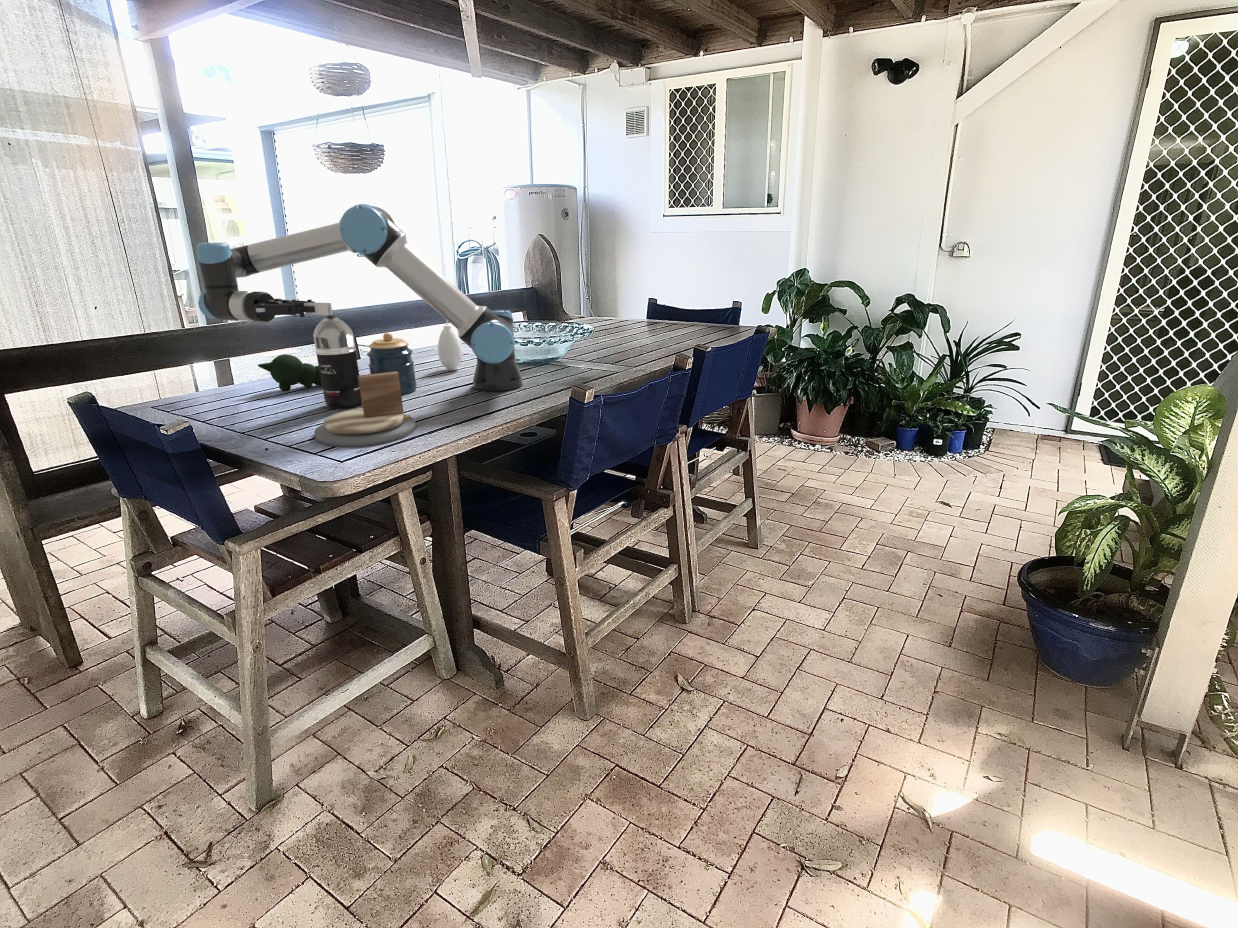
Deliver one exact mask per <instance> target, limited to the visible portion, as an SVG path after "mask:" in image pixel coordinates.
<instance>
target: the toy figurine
mask: <svg viewBox="0 0 1238 928" xmlns="http://www.w3.org/2000/svg"><path fill="white" fill-rule="evenodd" d="M257 367H259V369H260V368H261V369H263V370H265V371H267V372H268V373H269V374H270V376H271V378H272V379H273V381H275V382H276V383H278V387H279V389H280V391H282V392H285V393H286V392H289V391H291V388H292V386H294V385H295V386H296V384H300V385H302V386H303V387H304V388H305V389H312V388H313V386H314V385H316V386H320V387H321V388H322V382H321V377H320V371H319V365H313V364H311V363H308V362H305V363H304V362H303V361H301V359H299V358H298V357H296V355H292V354H288V353H287V354H280V355H278V356H276V357H274V358H273V360H271V361H270V362H264V363H259V364H257Z"/></svg>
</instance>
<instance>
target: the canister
mask: <svg viewBox="0 0 1238 928" xmlns="http://www.w3.org/2000/svg"><path fill="white" fill-rule="evenodd" d="M409 344H410V343H409V342H408V341H405V340H404V339H403V338H399V337H398V338H396V337H395V338H394V337H393V334H392V333H390V332H384V333H383V336H382V338H381V339H376V340H373V341H372V343H370V344H368V347H369V348H370V350H369V351H368V352H367V353H366V356H367V357H368V359H369V364H368V367H369V374H376V373H385V372H395V371H397V372H398V373H399V381H400V389H401V395H406V394H410V393H412V392H415V391H416V390H417V380H416V375H415V366H414V364H415V362H414V360H413V359H412V354H413V350H412V349H411V348H409V347H408V346H409Z"/></svg>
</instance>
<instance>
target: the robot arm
mask: <svg viewBox="0 0 1238 928" xmlns="http://www.w3.org/2000/svg"><path fill="white" fill-rule="evenodd" d="M195 247H196V248H195V249H196V255H197V257H196V259H197V261H198V264H199V269H200V272H201V278H202V281H203V286H204V291H203V292H201V294H200V295H199V296H198V297H199V298H198V302H197V304H198V308H199V311H200V312H201V314H202V315H204V316H205V317H207V318H208V319H211V320H219V321H240V322H243V321H246V323H247V324H251V323H252V322H262V323H267V322H271V321H272V320H274V318H275V317H276V316H297V315H299V318H305V317H306V316H305V315H308V316H309V315H316V316H327V315H334V314H333V307H332V303H331V302H316V301H313V300H312V299H307V300H298V299H282V298H274V297H273V296H272V295H271V293H268V292H266V291H253V290H239V285H238V280H237V278H247V277H249V276H252V275H256V274H258V273H263V272H267V271H271V270H275V269H279V268H280V269H281V268H284V267H289V266H292V265H296V264H300V263H304V262H308V261H312V260H313V261H314V260H317V259H320V258H325V257H329V256H334V255H338V254H341V253H346V252H349V251H350V252H351V253H353V254H361V255H363V257H364V258H366V259H367V260H368V261H369V262H370V263H371V264H373V265H374V266H375V268H386V269H387V270H388V271H390V273H392V275H394V276H395V277H396V278H398V279H399V280H401V282H402V283H404V284H405V285H406V287H408V288H409V289H411V290H412V292H414V293H415V294H416V295H417V296H419V298H421V299H422V300H423V301H424V302H425V303H427V304H428V305H429V306H430V307H431V308H432V309H433V310H434V311H435V312H437V313H439V315H440V316H442V317H443V318H444V319H445V321H446V320H447V321H448V322H449V323H450V325H451V326H453V327H454V328H456V330H457V334H458V335H457V336H458V338H459V340H461V342H462V341H463V342H464V343H465V344H466V345H467V346H468V347H469V348H470V349H471V350H472V353H473V354H474V355H475V357H476V366H475V370H474V375H473V379H472V384H473V389H475V390H479V391H484V392H485V391H486V392H500V391H501V392H503V391H510V390H514V389H518V388H520V387H522V386H523V385H524V384H523V377H522V374H521V371H520V368H519V366H518V364H517V361H516V350H515V349H516V348H515V342H516V341H515V340H516V339H515V335H514V334H515V333H514V317H513V313H512V312H511V311H510V310H490V308H489V307H487V306H486V305H477V304H476V303H475V302H474V301H472V300H471V299H470V298H469V296H467V295H466V294H465V293H464V292H462V291H461V289H459V288H458V287H457V286H455V284H454V283H452V282H451V281H450V280H449V279H448V278H447V277H446V276H445V275H443V273H441V272H440V271H439V270H438V269H437V268H435V266H434V265H432V264H431V263H430V262H429V261H428V260H427V259H426V258H424V257H423V256H422V255H421V254H420V252H417V251H416V250H415V248H413V247H412V246H411V245H410V244H409V243H408V241H407V234H406V233H405V231H403V230H402V229H401V228H399V227H398V225H396V224H395V221H394V219H393V217H392V216H391V215H390V214H389V213H388V212H387V211H386V210H384V209H383V208H381V207H378V206H374V205H373V206H372V205H369V204H364V203H363V204H362V203H361V204H360V203H359V204H356V205H353V206H351V207H349V208H348V209H347V210H345V212H344V213H343V214H342V216H341V218H340V219H339V221H338V222H336V223H333V224H328V225H325V226H320V227H316V228H312V229H308V230H303V231H300V232H295V233H292V234H288V235H283V236H279V237H275V238H271V239H267V240H263V241H260V242H259V241H258V242H256V243H254V242H253V243H251V244H246V245H242V246H238V247H234V248H230V245H229V244H228V243H227V242H199V243H197V244H196V246H195Z"/></svg>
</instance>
